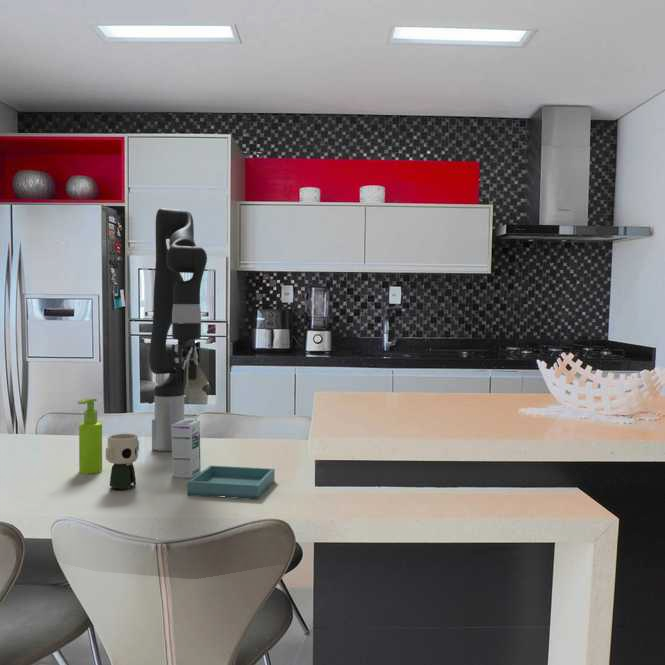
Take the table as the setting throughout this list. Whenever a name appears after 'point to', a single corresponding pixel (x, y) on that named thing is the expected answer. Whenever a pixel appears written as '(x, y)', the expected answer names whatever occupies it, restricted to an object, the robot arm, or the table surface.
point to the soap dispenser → (90, 440)
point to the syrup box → (186, 448)
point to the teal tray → (232, 482)
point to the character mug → (122, 459)
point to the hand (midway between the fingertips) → (186, 381)
